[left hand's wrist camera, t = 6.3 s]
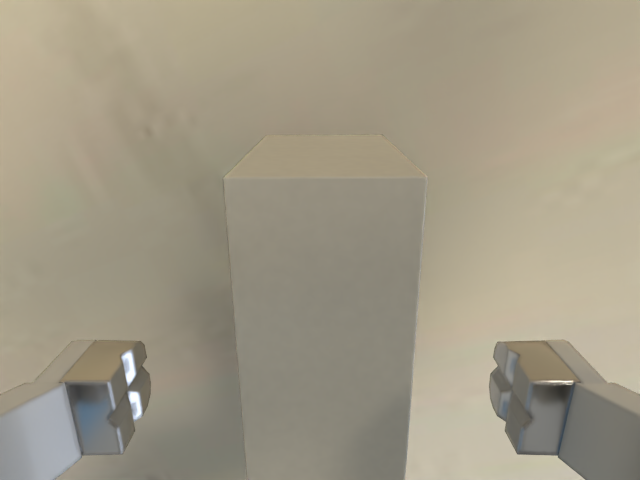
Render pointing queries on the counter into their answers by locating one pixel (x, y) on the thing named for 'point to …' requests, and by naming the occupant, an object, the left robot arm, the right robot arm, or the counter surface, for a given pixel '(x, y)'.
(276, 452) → the bar
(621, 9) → the counter surface
